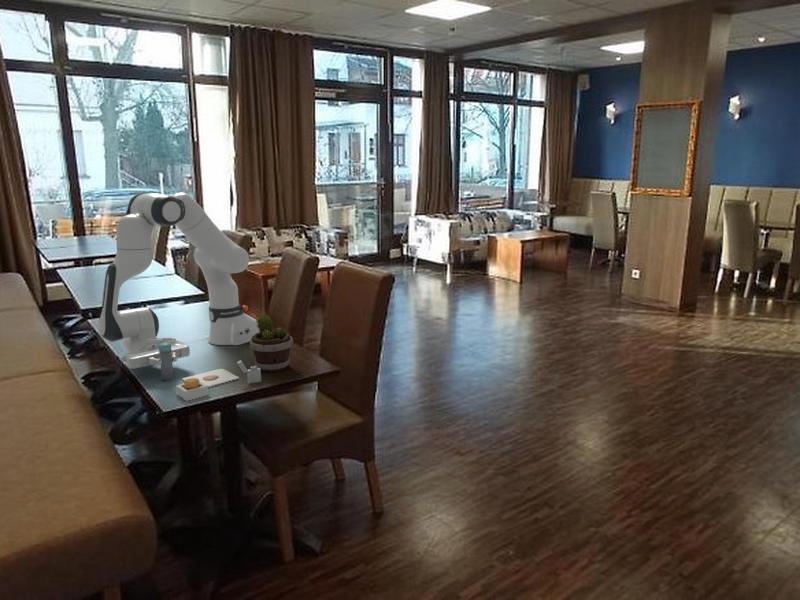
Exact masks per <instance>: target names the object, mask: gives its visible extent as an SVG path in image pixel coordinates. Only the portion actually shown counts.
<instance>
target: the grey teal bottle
mask: <svg viewBox="0 0 800 600" xmlns="http://www.w3.org/2000/svg"><path fill="white" fill-rule="evenodd" d="M171 350H172V348H171V343H161V344H159V352H160V359H161V360H162V365H160V370H161V371H160V372H161V380H165V381H164V382H169V381H168V380H171V381H173V380H174V379H175V376H174V362H172V352H171ZM173 378H174V379H173ZM172 379H173V380H172Z"/></svg>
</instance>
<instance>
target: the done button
mask: <svg viewBox="0 0 800 600" xmlns="http://www.w3.org/2000/svg"><path fill="white" fill-rule="evenodd" d="M183 384H184V388H185V389H187V390H190V389H194V388H197V387H199V386H200V385H199V379H197V378H190V379H186V380H185V381H183Z"/></svg>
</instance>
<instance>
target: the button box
mask: <svg viewBox="0 0 800 600" xmlns="http://www.w3.org/2000/svg"><path fill="white" fill-rule="evenodd" d="M199 385H200V386H199V387H197V388H194V389H190V390H187V389H185V388H184V383H180V384H177V385H175V391H176V393H175V394H176V395H177V396H178V395H179V396H180V398H181V397H182V398H183V400H184V401H185V400H186V402H189V400H190V401H192V399H193V400H196V398H197V399H200V398H203V397H202V396H204V397H206V396H205V395H207V396H209V388H208V386H207V385H206V384H204V383H202V382H200V381H199ZM179 396H178V397H179ZM199 397H200V398H199ZM182 398H181V399H182Z"/></svg>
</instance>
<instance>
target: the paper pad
mask: <svg viewBox="0 0 800 600" xmlns="http://www.w3.org/2000/svg"><path fill="white" fill-rule="evenodd" d="M190 378H197V379H199V381H200V382H202V383H204V384H206V385H207V386H208V387H210V388H212V386H213V387H216V386H215V385H217V386H219V385H218V384H220V385H222V384H221V383H224V384H226V383H225V382H228V383H230V382H229V381H231V382H233V381H232V380H235V381H237V380H236V379H238V380H240V377H239V376H237V375H235V374H233V373H232V372H230V371H228V370H226V369H223V368H222V367H221V368H218V369H213V370H210V371H205V372H201V373H197V374H195V375H190V376H186V377H182V379H181V380H182V381H183V380H184V381H185V380H186V379H190ZM184 381H183V382H184Z"/></svg>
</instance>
